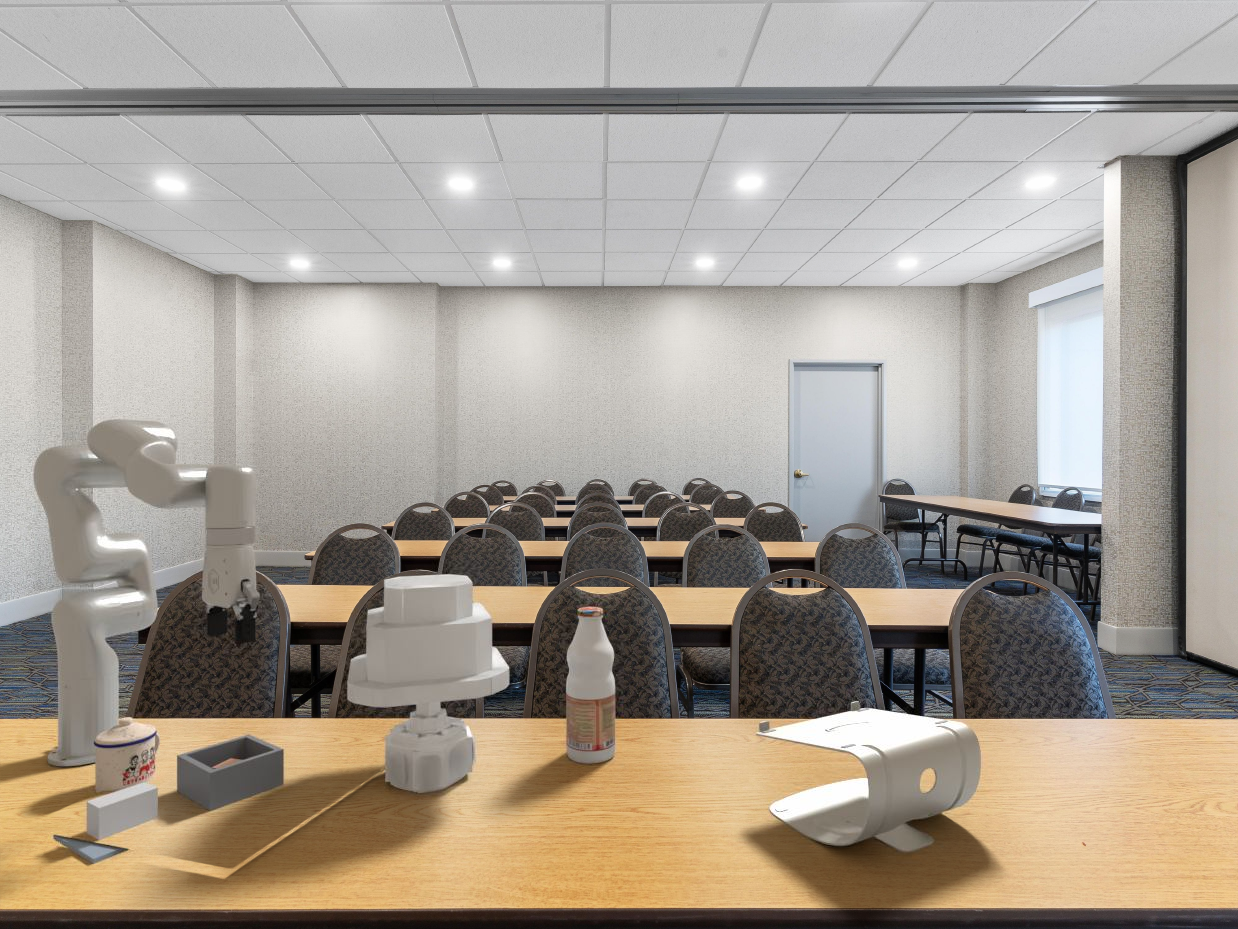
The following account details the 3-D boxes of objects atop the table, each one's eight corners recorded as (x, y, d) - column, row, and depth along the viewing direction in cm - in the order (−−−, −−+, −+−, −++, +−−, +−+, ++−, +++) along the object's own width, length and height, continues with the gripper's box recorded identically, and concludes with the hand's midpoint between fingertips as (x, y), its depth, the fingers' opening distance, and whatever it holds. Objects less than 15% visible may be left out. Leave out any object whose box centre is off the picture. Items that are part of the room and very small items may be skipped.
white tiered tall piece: (351, 758, 138) (351, 574, 138) (493, 741, 146) (492, 568, 146) (344, 824, 112) (344, 597, 113) (516, 798, 121) (515, 588, 121)
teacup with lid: (128, 798, 121) (128, 728, 121) (79, 795, 123) (80, 726, 123) (180, 769, 133) (180, 705, 133) (135, 766, 134) (135, 703, 134)
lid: (53, 842, 108) (53, 800, 108) (147, 807, 119) (147, 770, 119) (93, 867, 101) (93, 823, 101) (189, 828, 112) (189, 788, 112)
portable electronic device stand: (865, 877, 97) (864, 761, 97) (752, 805, 118) (751, 710, 118) (986, 830, 109) (985, 728, 109) (864, 773, 130) (864, 687, 130)
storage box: (177, 797, 122) (177, 755, 122) (248, 773, 131) (248, 734, 131) (210, 817, 115) (210, 773, 115) (283, 790, 124) (283, 749, 124)
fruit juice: (570, 767, 133) (569, 614, 134) (563, 747, 143) (562, 605, 143) (620, 762, 135) (619, 612, 136) (609, 743, 145) (609, 603, 145)
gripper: (184, 537, 125) (184, 636, 125) (232, 542, 115) (232, 650, 115) (228, 533, 131) (229, 628, 131) (278, 538, 121) (278, 641, 121)
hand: (230, 638), depth 123 cm, fingers open, 9 cm apart
